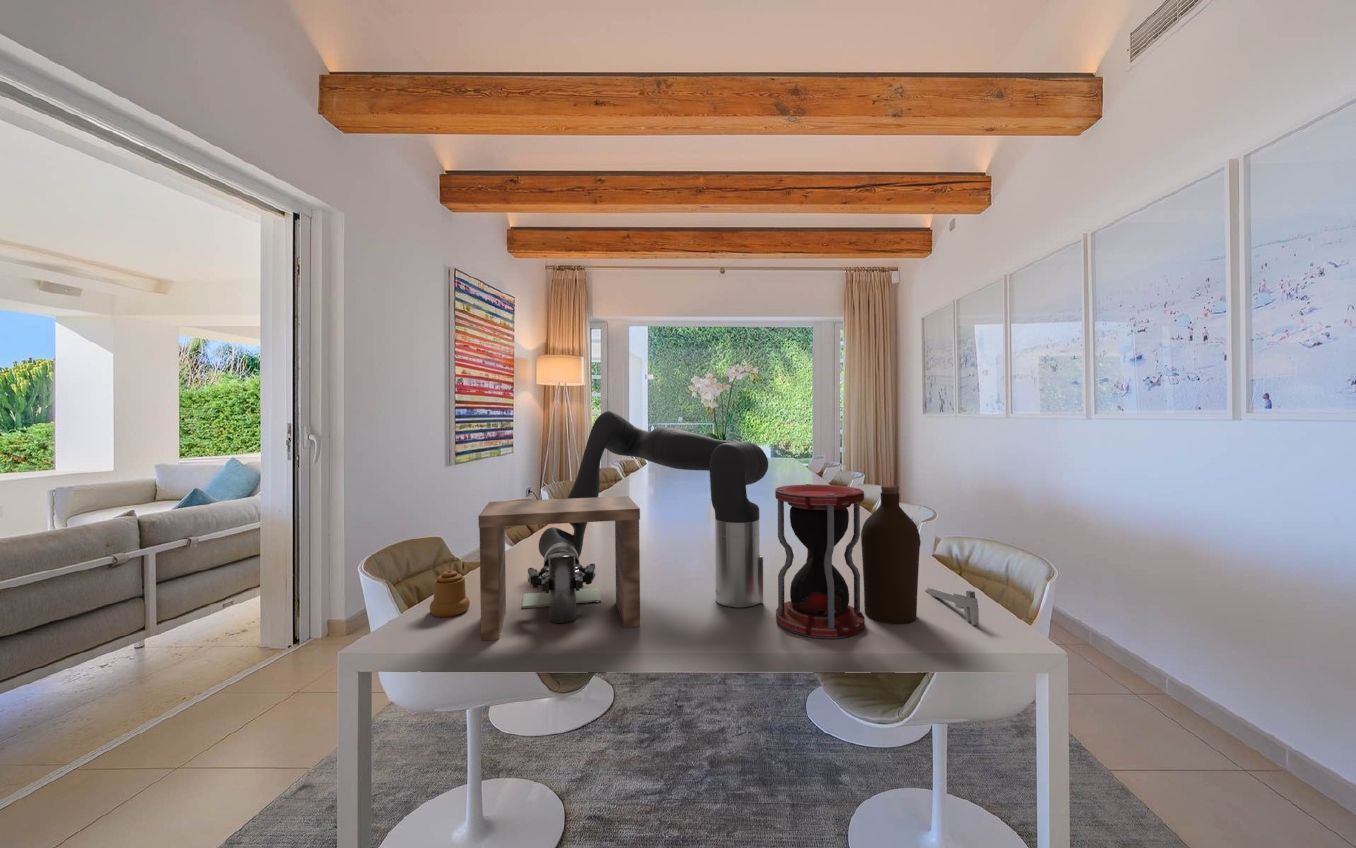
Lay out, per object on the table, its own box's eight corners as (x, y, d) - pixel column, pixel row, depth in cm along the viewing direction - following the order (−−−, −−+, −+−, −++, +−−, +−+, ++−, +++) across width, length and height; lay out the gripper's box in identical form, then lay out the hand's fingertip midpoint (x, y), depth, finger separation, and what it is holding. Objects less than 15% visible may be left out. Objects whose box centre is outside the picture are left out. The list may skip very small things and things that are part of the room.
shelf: (629, 599, 117) (628, 496, 117) (641, 628, 102) (639, 508, 101) (490, 611, 111) (489, 501, 111) (480, 643, 96) (478, 516, 95)
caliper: (979, 628, 101) (979, 594, 101) (973, 628, 101) (973, 594, 101) (929, 592, 122) (929, 563, 121) (924, 592, 122) (924, 563, 121)
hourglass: (786, 640, 96) (785, 496, 95) (768, 608, 112) (767, 484, 111) (878, 638, 96) (878, 494, 96) (847, 606, 112) (846, 483, 112)
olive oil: (887, 628, 100) (886, 491, 100) (849, 609, 110) (849, 484, 110) (932, 620, 104) (932, 488, 104) (892, 603, 114) (892, 481, 114)
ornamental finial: (477, 607, 114) (453, 620, 107) (447, 603, 116) (421, 616, 109) (477, 568, 114) (452, 578, 107) (446, 565, 116) (420, 575, 109)
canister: (575, 612, 109) (574, 551, 109) (576, 621, 105) (575, 558, 104) (549, 614, 108) (548, 553, 108) (549, 623, 103) (548, 559, 103)
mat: (598, 590, 124) (598, 588, 124) (601, 602, 116) (601, 599, 116) (524, 596, 120) (523, 593, 120) (521, 608, 113) (521, 606, 113)
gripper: (527, 548, 119) (522, 569, 102) (594, 543, 122) (600, 564, 105) (527, 582, 119) (523, 610, 102) (595, 577, 122) (601, 603, 105)
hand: (562, 586), depth 104 cm, fingers closed on canister, 5 cm apart
